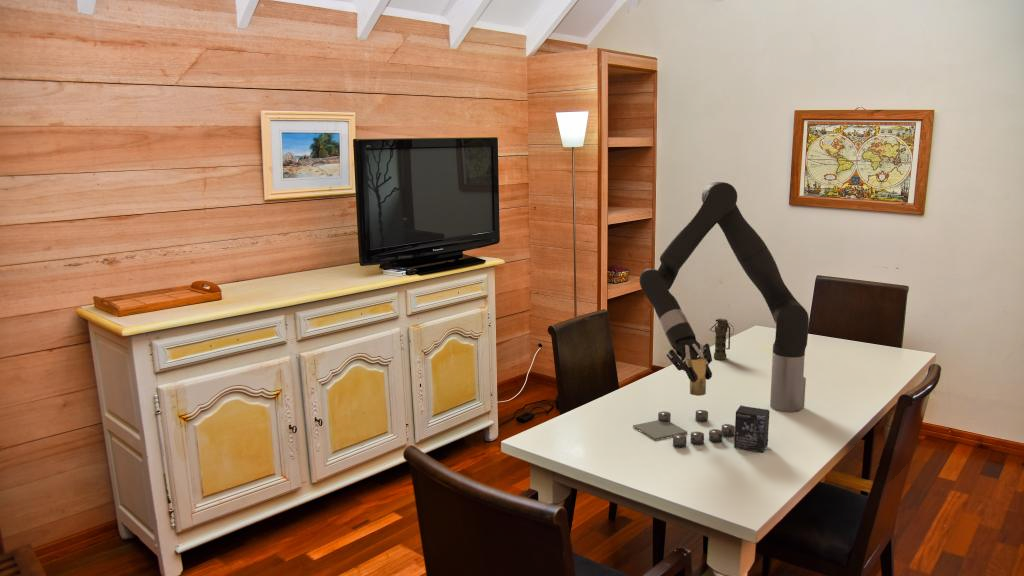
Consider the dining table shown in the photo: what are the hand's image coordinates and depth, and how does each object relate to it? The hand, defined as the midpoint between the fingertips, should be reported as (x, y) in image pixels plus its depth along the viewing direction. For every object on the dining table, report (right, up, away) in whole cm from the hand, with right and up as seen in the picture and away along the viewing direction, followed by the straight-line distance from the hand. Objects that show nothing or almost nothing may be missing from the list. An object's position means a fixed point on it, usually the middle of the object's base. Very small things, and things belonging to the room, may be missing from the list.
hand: (702, 379), depth 218 cm
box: (+11, -18, -7) cm, 22 cm away
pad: (-11, -15, +6) cm, 20 cm away
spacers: (-3, -15, +5) cm, 16 cm away
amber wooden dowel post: (-1, -4, +3) cm, 5 cm away
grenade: (+25, -1, +72) cm, 76 cm away
